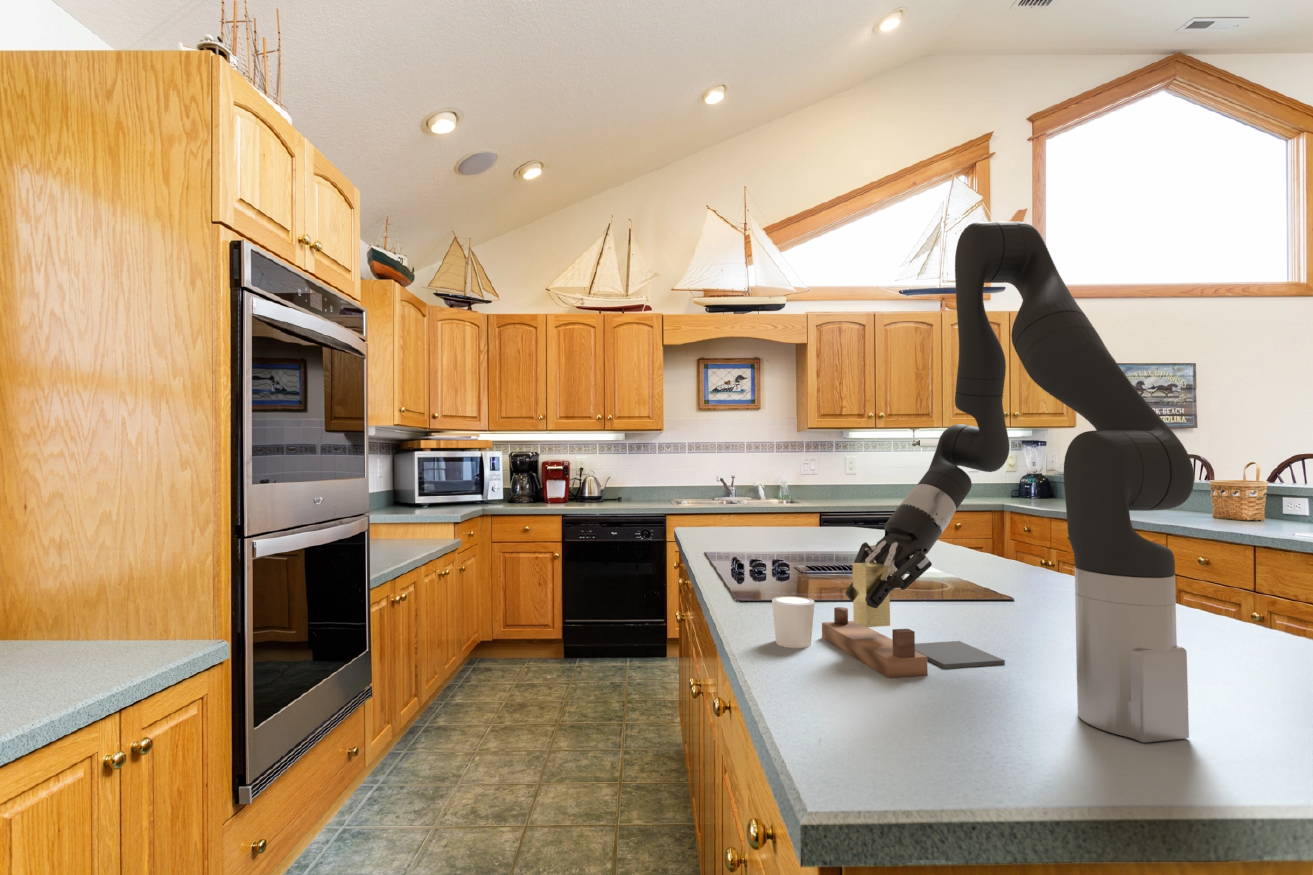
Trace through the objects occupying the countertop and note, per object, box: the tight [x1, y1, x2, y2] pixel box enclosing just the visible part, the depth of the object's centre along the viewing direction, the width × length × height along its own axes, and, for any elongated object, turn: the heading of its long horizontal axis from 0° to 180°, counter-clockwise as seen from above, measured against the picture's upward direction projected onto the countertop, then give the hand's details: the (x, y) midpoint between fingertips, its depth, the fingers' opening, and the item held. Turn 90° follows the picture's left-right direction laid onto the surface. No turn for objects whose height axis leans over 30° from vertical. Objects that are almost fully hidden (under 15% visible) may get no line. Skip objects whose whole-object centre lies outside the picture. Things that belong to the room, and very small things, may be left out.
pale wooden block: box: [852, 561, 891, 628], centre depth 97 cm, size 4×4×9 cm
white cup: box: [771, 595, 816, 649], centre depth 103 cm, size 7×7×7 cm
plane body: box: [821, 606, 929, 679], centre depth 97 cm, size 20×6×6 cm, turn 11°
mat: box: [915, 640, 1006, 669], centre depth 96 cm, size 10×10×1 cm
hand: (860, 600), depth 96 cm, fingers closed on pale wooden block, 4 cm apart
